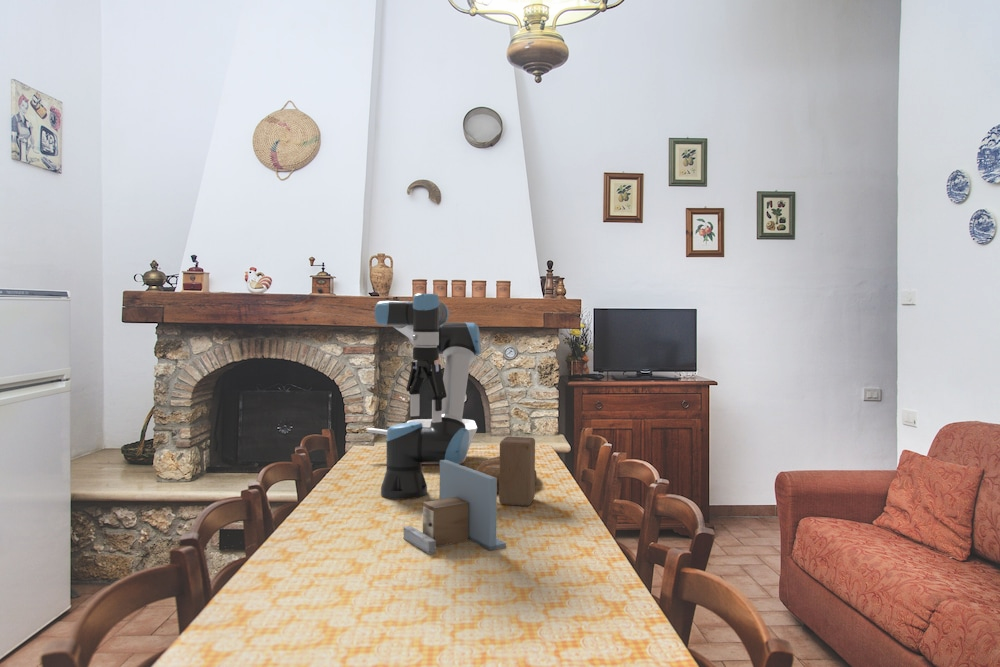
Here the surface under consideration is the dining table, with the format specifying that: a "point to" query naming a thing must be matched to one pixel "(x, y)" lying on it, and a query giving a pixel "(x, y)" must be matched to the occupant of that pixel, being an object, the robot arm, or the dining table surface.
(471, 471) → the wall board
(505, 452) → the wooden block
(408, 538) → the cleat rail
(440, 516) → the wooden box
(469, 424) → the pot
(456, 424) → the robot arm
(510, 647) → the dining table surface
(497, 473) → the bread
